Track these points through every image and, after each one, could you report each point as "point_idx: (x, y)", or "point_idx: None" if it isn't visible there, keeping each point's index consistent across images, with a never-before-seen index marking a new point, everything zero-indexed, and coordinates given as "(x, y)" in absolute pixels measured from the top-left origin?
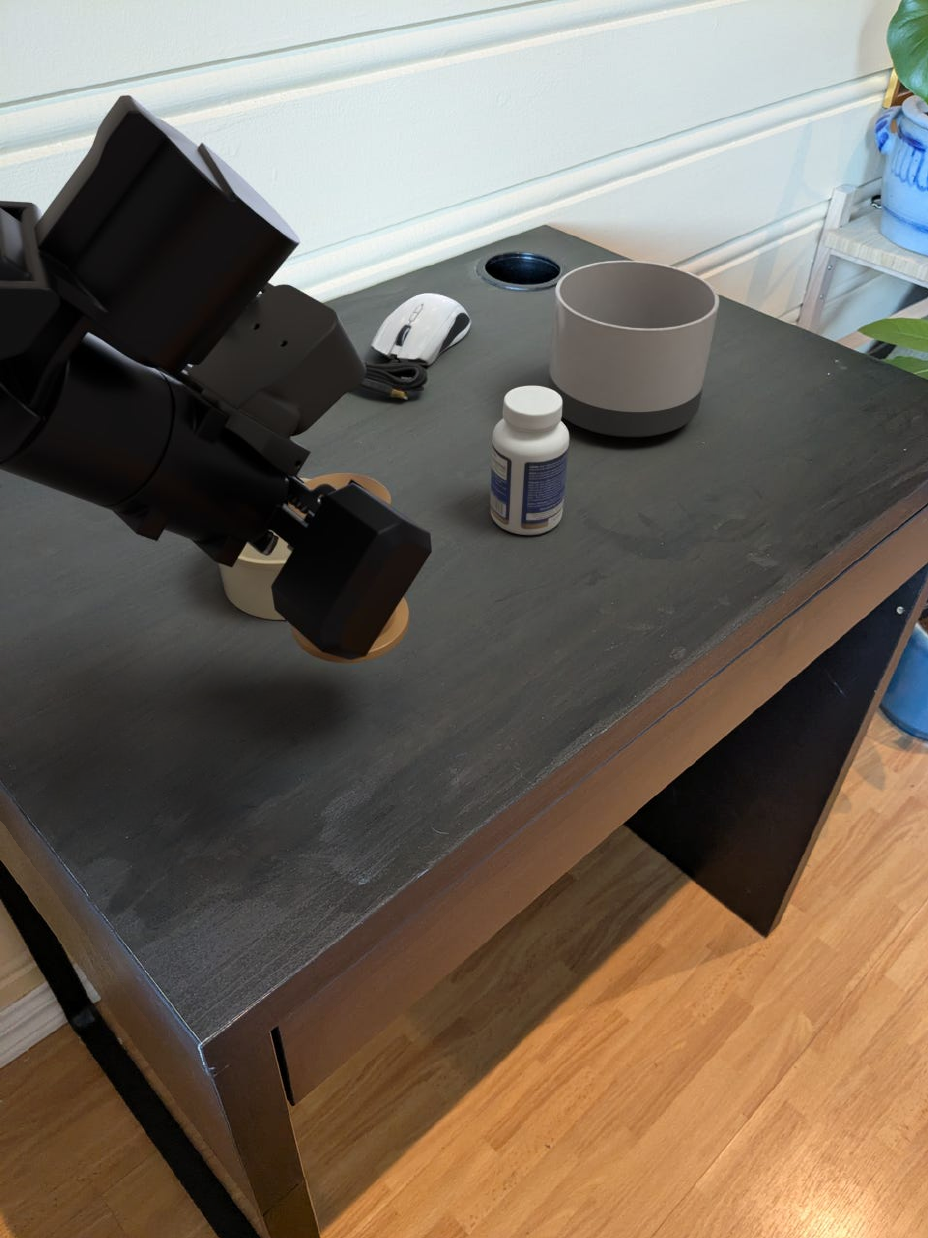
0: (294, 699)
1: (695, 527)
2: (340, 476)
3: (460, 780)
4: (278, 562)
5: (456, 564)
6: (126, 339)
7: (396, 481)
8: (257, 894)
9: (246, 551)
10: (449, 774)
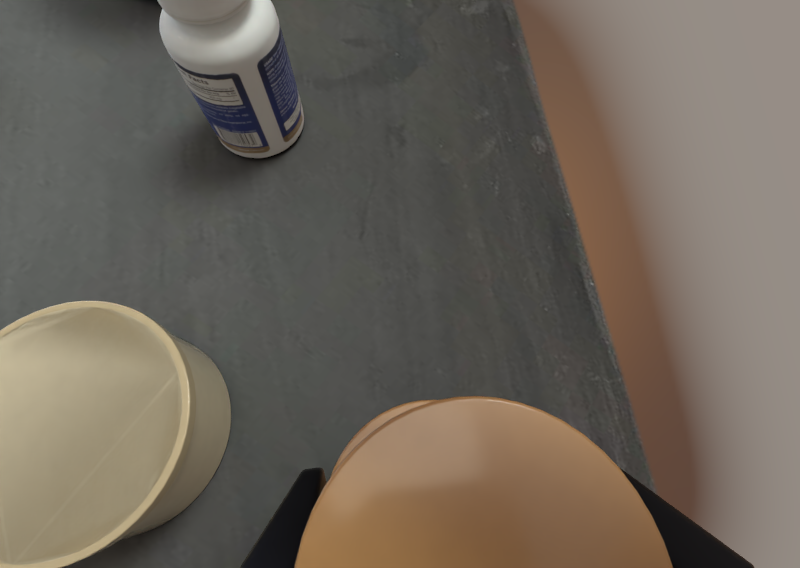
0: None
1: (397, 17)
2: (348, 499)
3: None
4: (156, 494)
5: (275, 235)
6: None
7: (85, 201)
8: None
9: (86, 530)
10: None
